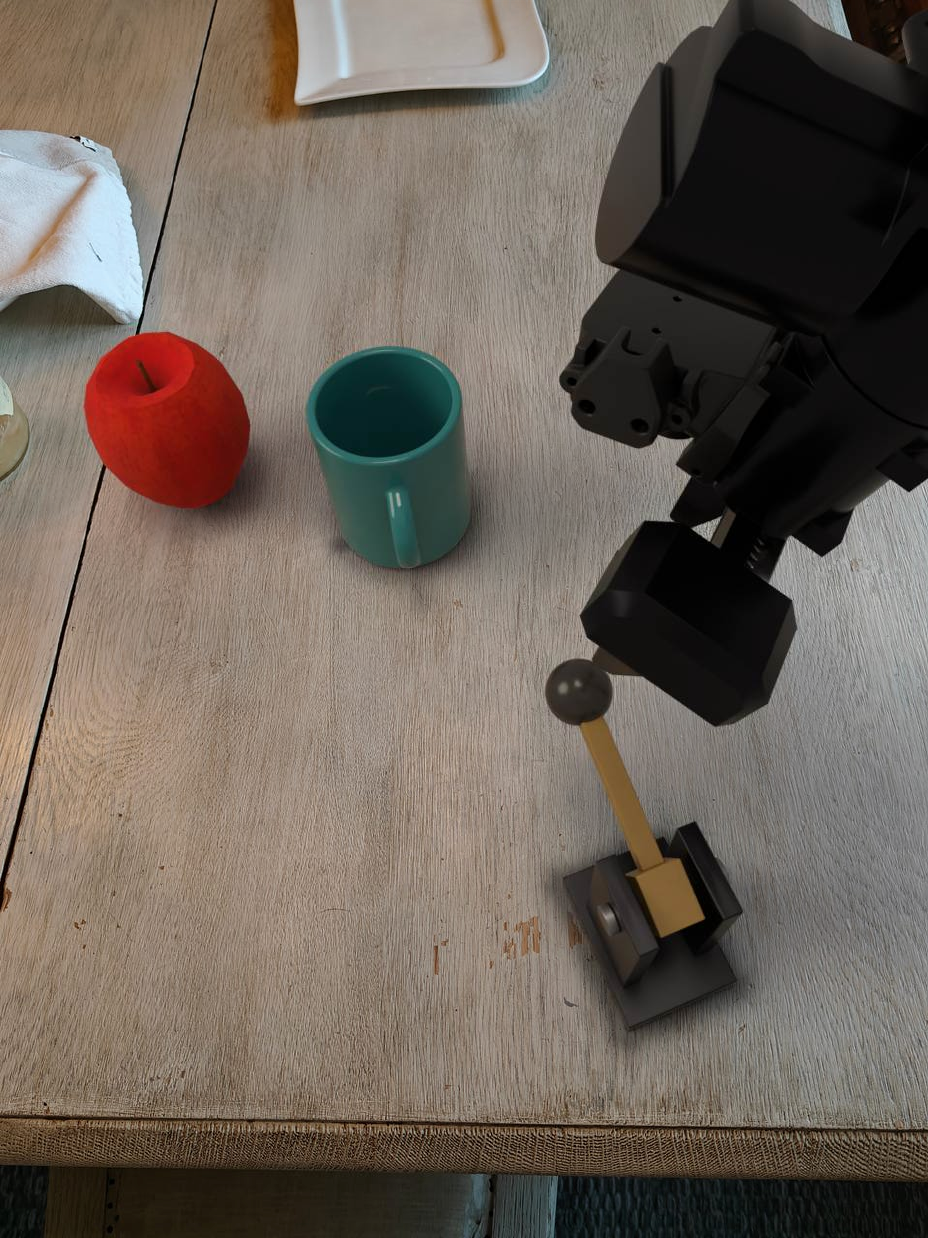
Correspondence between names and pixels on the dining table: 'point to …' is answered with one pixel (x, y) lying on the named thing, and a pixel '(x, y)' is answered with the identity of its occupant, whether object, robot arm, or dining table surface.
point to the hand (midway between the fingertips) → (642, 588)
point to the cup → (393, 454)
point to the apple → (167, 420)
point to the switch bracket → (628, 949)
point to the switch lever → (623, 796)
